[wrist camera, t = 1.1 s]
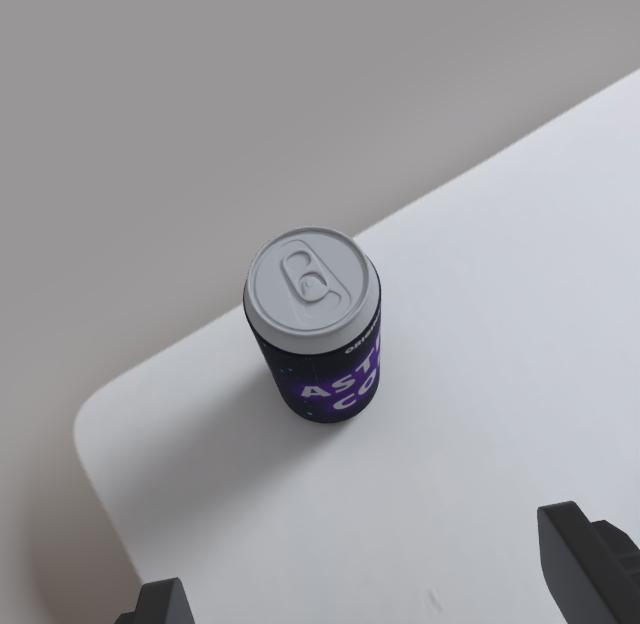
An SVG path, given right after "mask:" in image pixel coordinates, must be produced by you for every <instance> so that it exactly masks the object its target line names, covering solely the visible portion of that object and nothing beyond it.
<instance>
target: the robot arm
mask: <svg viewBox="0 0 640 624" xmlns="http://www.w3.org/2000/svg"><path fill="white" fill-rule="evenodd" d="M537 520H538V532H539V545H540V558H541V566H542V571H543V575H544V578H545V581H546V584H547V586H548V588H549V591H550V593H551V595H552V596H553V598H554V600H555V602H556V604H557V605H558V607H559V609H560V611H561V613H562V614H563V616H564V618H565V620H566V621H567V623H568V624H640V550H639V548H638V547H637V546H636V545H635V543H634V542H633V541H632V540H631V539H630V537H629V536H628V535H627V534H626V533H624V532H623V531H621V530H620V529H618V528H616V527H615V526H613V525H612V524H610V523H609V522H607V521H605V520H601V521H596V522H591V523H590V521H589V520H588V519H587V517H586V516H585V515H584V513H583V512H582V511H581V509H580V508H579V507H578V505H577V504H576V503H575V502H573V501H567V502H562V503H557V504H552V505H547V506H542V507H539V508H538V510H537ZM114 624H195V622H194V619H193V616H192V613H191V609H190V606H189V603H188V600H187V597H186V594H185V591H184V588H183V585H182V582H181V580H180V579H179V578H178V577H176V578H171V579H166V580H161V581H156V582H151V583H146V584H144V585H143V586H142V588H141V591H140V594H139V598H138V602H137V605H136V609H135V611H134V612H129V613H124V614H121V615H120V616H119V618H118V619H117V620H116V622H115V623H114Z"/></svg>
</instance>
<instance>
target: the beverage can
mask: <svg viewBox="0 0 640 624" xmlns="http://www.w3.org/2000/svg"><path fill="white" fill-rule="evenodd" d="M243 305H244V311H245V315H246V318H247V320H248V323H249V325H250V327H251V329H252V331H253V334H254V336H255V338H256V340H257V342H258V345H259V347H260V349H261V351H262V353H263V356H264V358H265V360H266V362H267V364H268V367H269V369H270V371H271V373H272V375H273V377H274V380H275V382H276V384H277V386H278V388H279V391H280V393H281V395H282V397H283V399H284V400H285V402H286V403H287V405H288V406H289V407H290V408H291V409H292V410H293V411H294V412H295V413H297V414H298V415H300V416H301V417H303V418H305V419H308V420H310V421H314V422H319V423H336V422H341V421H344V420H347V419H349V418H351V417H353V416H355V415H357V414H358V413H360V412H361V411H362V410H363V409H364V408H365V407H366V406H367V405H368V404H369V403H370V401H371V400H372V398H373V396H374V395H375V392H376V390H377V387H378V383H379V375H380V326H381V285H380V280H379V276H378V274H377V271H376V269H375V267H374V265H373V264H372V262H371V261H370V259H369V258H368V257H367V256H366V255H365V254H364V252H363V251H362V249H361V248H360V247H359V246H358V244H357V243H356V242H355V241H354V240H352V239H351V238H350V237H348V236H347V235H345V234H343V233H341V232H339V231H337V230H334V229H331V228H327V227H322V226H302V227H297V228H293V229H290V230H287V231H284V232H282V233H280V234H278V235H276V236H275V237H273V238H272V239H271V240H269V241H268V242H267V243H266V244H265V245H264V246H263V247H262V248H261V249H260V250H259V251H258V253H257V254H256V255H255V257H254V259H253V261H252V263H251V265H250V268H249V272H248V277H247V280H246V283H245V287H244V294H243Z"/></svg>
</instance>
